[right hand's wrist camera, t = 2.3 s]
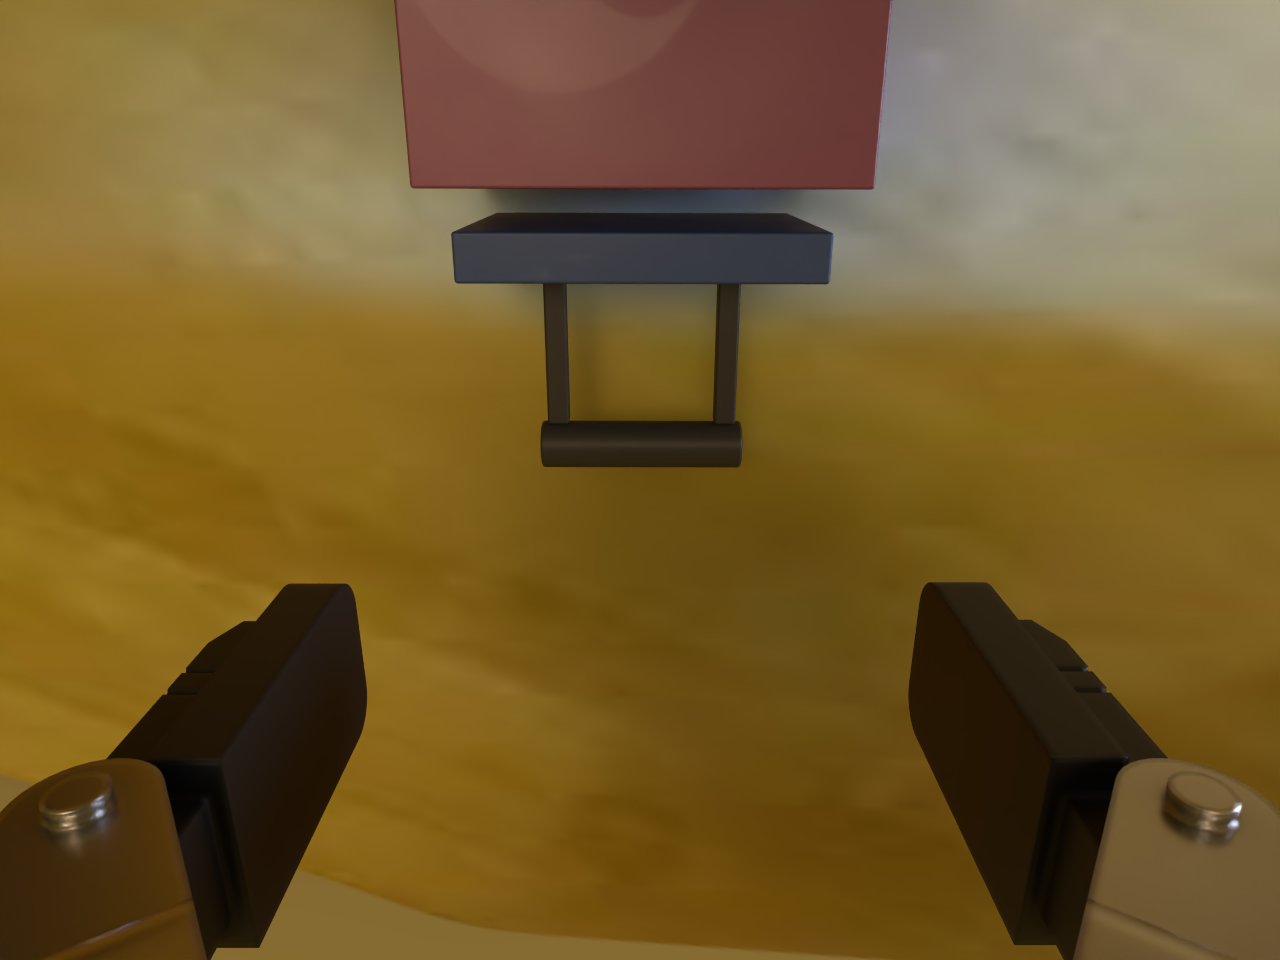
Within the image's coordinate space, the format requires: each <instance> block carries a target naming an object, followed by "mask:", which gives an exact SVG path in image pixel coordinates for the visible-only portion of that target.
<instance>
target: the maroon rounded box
mask: <svg viewBox="0 0 1280 960" xmlns="http://www.w3.org/2000/svg"><path fill="white" fill-rule="evenodd" d="M394 2H395V13H396V25H397V36H398V48H399V59H400V71H401V83H402V94H403V106H404V117H405V129H406V140H407V152H408V164H409V175H410V185H411V187H412V188H471V189H874V187H875V178H876V167H877V157H878V146H879V135H880V124H881V113H882V103H883V92H884V81H885V70H886V59H887V49H888V38H889V27H890V16H891V5H892V0H394Z"/></svg>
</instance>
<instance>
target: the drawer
mask: <svg viewBox="0 0 1280 960" xmlns="http://www.w3.org/2000/svg"><path fill="white" fill-rule="evenodd" d="M451 237H452V251H453V265H454V279H455V282H456V283H509V284H543V295H544V323H545V350H546V377H547V404H548V421H543V423H542V428H541V459H542V464H543V466H545V467H739V466H740V464H741V458H742V428H741V424H740V422H739V421H735V407H736V384H737V360H738V336H739V313H740V289H741V284H828V283H829V282H830V271H831V258H832V245H833V233H831V232H829V231H826V230H824V229H822V228H819V227H817V226H815V225H812V224H810V223H808V222H805V221H803V220H801V219H798V218H796V217H794V216H791V215H789V214H787V213H495V214H493V215H491V216H489V217H486V218H484V219H482V220H479V221H477V222H475V223H473V224H470V225H468V226H466V227H463V228H461V229H459V230H456V231H454V232H452V234H451ZM566 284H717V309H716V339H715V369H714V399H713V420H714V421H569V419H570V397H569V360H568V324H567V287H566Z"/></svg>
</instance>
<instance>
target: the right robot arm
mask: <svg viewBox="0 0 1280 960" xmlns="http://www.w3.org/2000/svg"><path fill="white" fill-rule="evenodd" d="M366 707H367V686H366V678H365V670H364V663H363V655H362V647H361V640H360V632H359V624H358V617H357V609H356V602H355V597H354V593H353V591H352V589H351V587H350V586H349V585H348V584H288V585H286V586H285V587H284V588H283V589H282V590H281V591H280V592H279V594H278V595H277V596H276V597H275V599H274V600H273V601H272V602H271V603H270V605H269V606H268V607H267V608H266V610H265V611H264V612H263V613H262V614H261V616H260V617H259V618H258V619H257V621H243V622H242V623H240V624H238V625H237V626H235V627H233V628H232V629H230V630H229V631H227V632H225V633H224V634H222V635H220V636H219V637H217V638H215V639H214V640H212V641H211V642H209V643H208V644H207V645H206V646H205V647H204V648H203V649H202V651H201V652H200V653H199V654H198V655H197V656H196V657H195V659H194V660H193V661H192V662H191V663H190V664H189V665H188V667H187V668H186V673H181V675H180V676H179V677H178V678H177V679H176V680H175V681H174V683H173V684H172V685H171V686H170V687H169V688H168V693H167V695H162V696H161V697H160V698H159V700H158V701H157V702H156V703H155V704H154V705H153V706H152V708H151V709H150V710H149V711H148V712H147V713H146V714H145V716H144V717H143V718H142V719H141V720H140V721H139V722H138V723H137V725H136V726H135V727H134V728H133V729H132V730H131V731H130V733H129V734H128V735H127V736H126V737H125V738H124V739H123V741H122V742H121V743H120V744H119V745H118V746H117V747H116V749H115V750H114V751H113V752H112V753H111V754H110V755H109V757H108V758H107V759H104V760H99V761H94V762H89V763H85V764H82V765H78V766H75V767H72V768H69V769H66V770H64V771H61V772H59V773H56V774H54V775H52V776H50V777H47V778H46V779H44V780H42V781H40V782H38V783H36V784H35V785H33V786H31V787H30V788H28V789H27V790H25V791H24V792H22V793H21V794H20V795H18V796H17V797H16V798H15V799H13V800H12V801H11V802H10V803H9V804H8V805H7V806H6V807H5V808H4V809H3V810H2V811H1V812H0V960H211V958H212V956H213V954H214V952H215V950H216V948H259V947H260V945H261V943H262V941H263V939H264V936H265V934H266V932H267V930H268V928H269V926H270V924H271V922H272V920H273V918H274V916H275V913H276V911H277V909H278V907H279V905H280V903H281V901H282V899H283V897H284V895H285V892H286V890H287V888H288V886H289V884H290V882H291V880H292V878H293V876H294V874H295V872H296V870H297V867H298V865H299V863H300V861H301V859H302V857H303V855H304V853H305V851H306V849H307V847H308V844H309V842H310V840H311V838H312V836H313V834H314V832H315V830H316V828H317V826H318V824H319V821H320V819H321V817H322V815H323V813H324V811H325V809H326V807H327V805H328V803H329V801H330V798H331V796H332V794H333V792H334V790H335V788H336V786H337V784H338V782H339V780H340V778H341V775H342V773H343V771H344V769H345V767H346V765H347V763H348V761H349V759H350V757H351V755H352V752H353V750H354V748H355V746H356V744H357V742H358V740H359V738H360V735H361V733H362V730H363V726H364V721H365V716H366ZM909 710H910V717H911V722H912V726H913V730H914V733H915V735H916V737H917V740H918V742H919V744H920V746H921V748H922V750H923V752H924V754H925V757H926V759H927V761H928V763H929V765H930V767H931V769H932V771H933V773H934V776H935V778H936V780H937V782H938V784H939V786H940V788H941V790H942V793H943V795H944V797H945V799H946V801H947V803H948V805H949V807H950V810H951V812H952V814H953V816H954V818H955V820H956V822H957V824H958V826H959V829H960V831H961V833H962V835H963V837H964V839H965V841H966V843H967V846H968V848H969V850H970V852H971V854H972V856H973V858H974V860H975V862H976V865H977V867H978V869H979V871H980V873H981V875H982V877H983V879H984V882H985V884H986V886H987V888H988V890H989V892H990V894H991V896H992V899H993V901H994V903H995V905H996V907H997V909H998V911H999V913H1000V915H1001V918H1002V920H1003V922H1004V924H1005V926H1006V928H1007V930H1008V932H1009V935H1010V937H1011V939H1012V941H1013V943H1014V945H1056V946H1057V947H1058V949H1059V951H1060V953H1061V955H1062V957H1063V959H1064V960H1280V812H1279V811H1278V810H1277V809H1276V808H1275V807H1274V806H1273V805H1272V804H1271V803H1270V802H1269V801H1268V800H1267V799H1265V798H1264V797H1263V796H1262V795H1260V794H1259V793H1258V792H1256V791H1255V790H1253V789H1252V788H1250V787H1249V786H1247V785H1245V784H1244V783H1242V782H1240V781H1238V780H1236V779H1234V778H1233V777H1230V776H1228V775H1226V774H1224V773H1221V772H1219V771H1216V770H1214V769H1211V768H1208V767H1205V766H1202V765H1198V764H1195V763H1191V762H1186V761H1181V760H1176V759H1168V758H1167V757H1166V756H1165V755H1164V753H1163V752H1162V751H1161V750H1160V749H1159V748H1158V746H1157V745H1156V744H1155V743H1154V742H1153V741H1152V740H1151V738H1150V737H1149V736H1148V735H1147V734H1146V733H1145V732H1144V730H1143V729H1142V728H1141V727H1140V726H1139V725H1138V723H1137V722H1136V721H1135V720H1134V719H1133V718H1132V717H1131V715H1130V714H1129V713H1128V712H1127V711H1126V710H1125V709H1124V707H1123V706H1122V705H1121V704H1120V703H1119V702H1118V700H1117V699H1116V698H1115V697H1114V696H1113V695H1112V694H1111V693H1107V692H1106V687H1105V686H1104V684H1103V683H1102V682H1101V681H1100V680H1099V679H1098V677H1097V676H1096V675H1095V674H1094V673H1093V672H1092V671H1088V666H1087V665H1086V664H1085V663H1084V661H1083V660H1082V659H1081V658H1080V657H1079V656H1078V654H1077V653H1076V652H1075V651H1074V650H1073V649H1072V648H1071V646H1070V645H1069V644H1068V643H1067V642H1066V641H1065V640H1063V639H1061V638H1060V637H1058V636H1057V635H1055V634H1053V633H1052V632H1050V631H1048V630H1047V629H1045V628H1044V627H1042V626H1040V625H1039V624H1037V623H1035V622H1034V621H1032V620H1018V619H1017V617H1016V616H1015V615H1014V614H1013V612H1012V611H1011V610H1010V609H1009V607H1008V606H1007V605H1006V604H1005V603H1004V601H1003V600H1002V599H1001V598H1000V596H999V595H998V594H997V593H996V591H995V590H994V589H993V588H992V587H991V586H990V585H989V584H988V583H984V582H929V583H927V584H926V585H925V586H924V588H923V590H922V593H921V597H920V603H919V611H918V618H917V626H916V634H915V642H914V650H913V657H912V665H911V673H910V681H909Z"/></svg>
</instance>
